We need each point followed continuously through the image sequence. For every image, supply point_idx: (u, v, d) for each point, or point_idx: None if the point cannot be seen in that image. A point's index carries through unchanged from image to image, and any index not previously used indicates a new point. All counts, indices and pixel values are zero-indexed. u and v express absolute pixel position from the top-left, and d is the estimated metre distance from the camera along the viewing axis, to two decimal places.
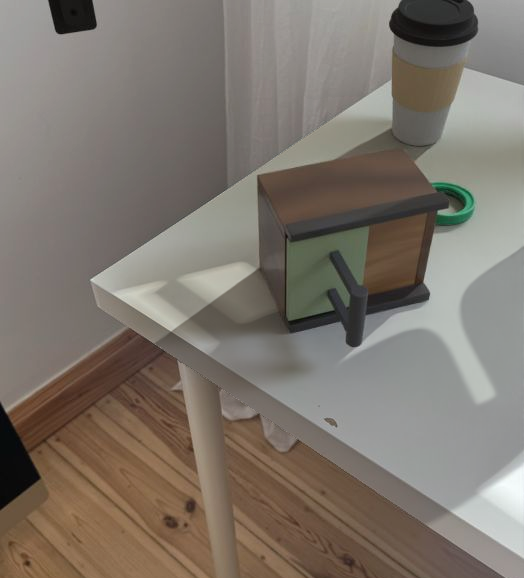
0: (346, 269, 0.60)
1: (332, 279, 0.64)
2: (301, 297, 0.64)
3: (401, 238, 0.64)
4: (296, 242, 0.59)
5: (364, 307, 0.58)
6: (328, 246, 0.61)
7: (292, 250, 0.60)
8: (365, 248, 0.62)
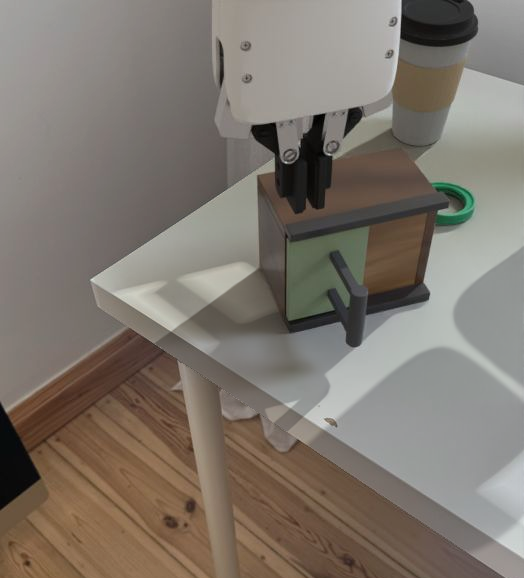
0: (346, 269, 0.60)
1: (332, 279, 0.64)
2: (301, 297, 0.64)
3: (401, 238, 0.64)
4: (296, 242, 0.59)
5: (364, 307, 0.58)
6: (328, 246, 0.61)
7: (292, 250, 0.60)
8: (365, 248, 0.62)
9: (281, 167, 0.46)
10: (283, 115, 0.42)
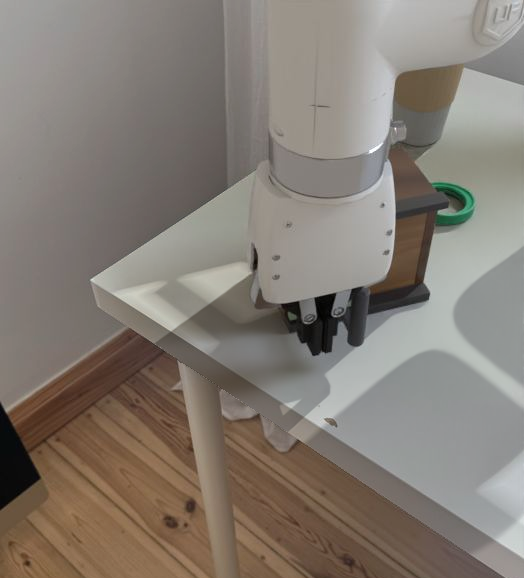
0: None
1: None
2: None
3: (401, 238, 0.64)
4: None
5: (366, 307, 0.58)
6: None
7: None
8: None
9: (302, 324, 0.57)
10: (303, 297, 0.53)
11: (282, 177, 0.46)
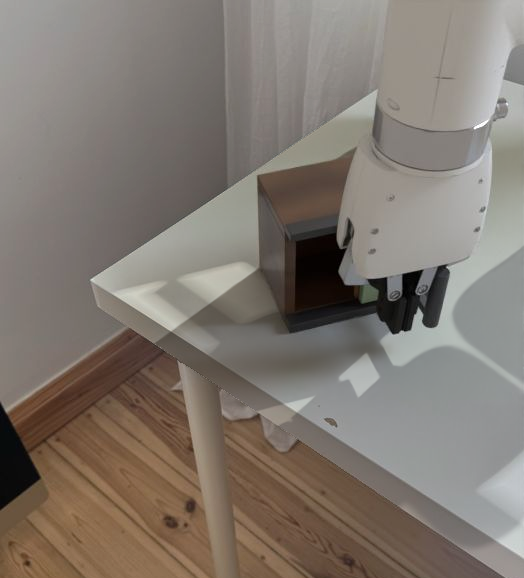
0: None
1: None
2: None
3: None
4: None
5: (445, 288, 0.60)
6: None
7: None
8: None
9: (385, 301, 0.59)
10: (393, 272, 0.54)
11: (390, 150, 0.47)
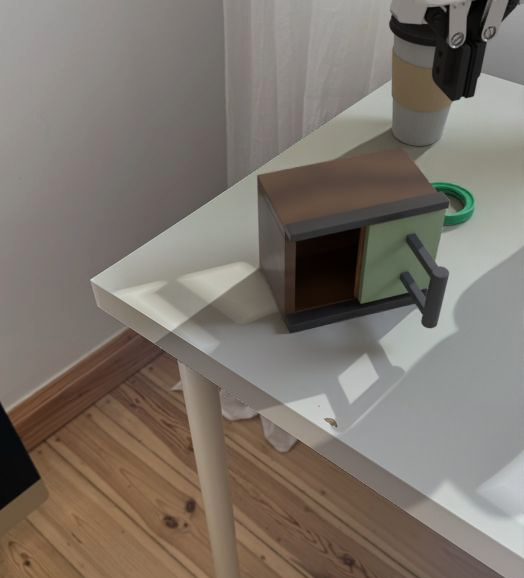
0: (424, 251, 0.61)
1: (406, 262, 0.65)
2: (375, 280, 0.66)
3: None
4: (376, 225, 0.61)
5: (444, 288, 0.60)
6: (406, 228, 0.62)
7: (371, 233, 0.61)
8: (440, 231, 0.64)
9: (445, 53, 0.49)
10: None
11: None
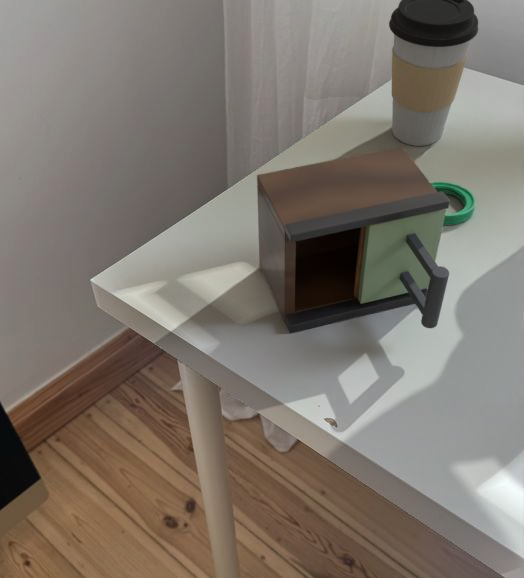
0: (424, 251, 0.61)
1: (406, 262, 0.65)
2: (375, 280, 0.66)
3: None
4: (376, 225, 0.61)
5: (444, 288, 0.60)
6: (406, 228, 0.62)
7: (371, 233, 0.61)
8: (440, 231, 0.64)
9: None
10: None
11: None
